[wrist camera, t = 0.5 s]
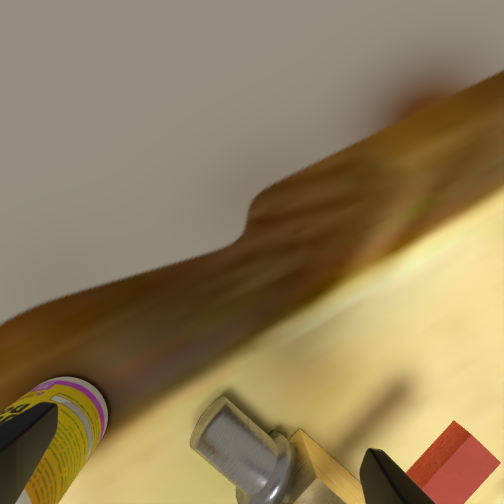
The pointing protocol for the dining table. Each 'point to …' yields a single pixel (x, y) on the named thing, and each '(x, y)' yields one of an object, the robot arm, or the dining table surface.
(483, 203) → the dining table surface
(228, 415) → the valve
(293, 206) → the dining table surface
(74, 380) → the supplement bottle
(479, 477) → the lever
